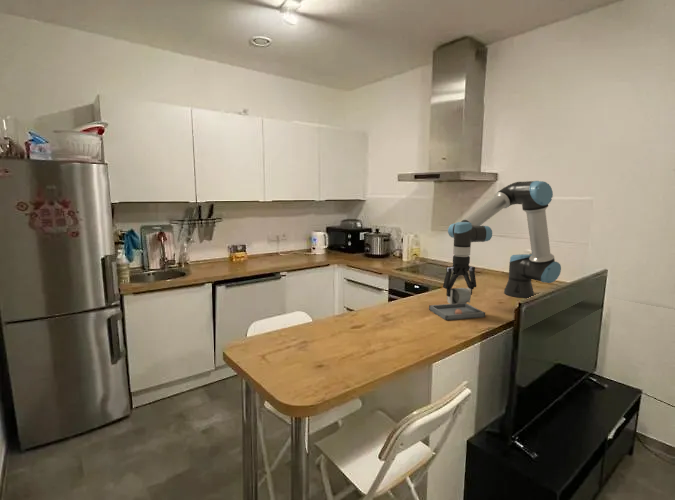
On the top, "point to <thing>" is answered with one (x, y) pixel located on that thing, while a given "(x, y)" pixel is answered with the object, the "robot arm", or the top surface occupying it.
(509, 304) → the top surface
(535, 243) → the robot arm
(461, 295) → the ceramic mug
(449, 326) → the top surface
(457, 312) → the ball
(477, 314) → the tray
